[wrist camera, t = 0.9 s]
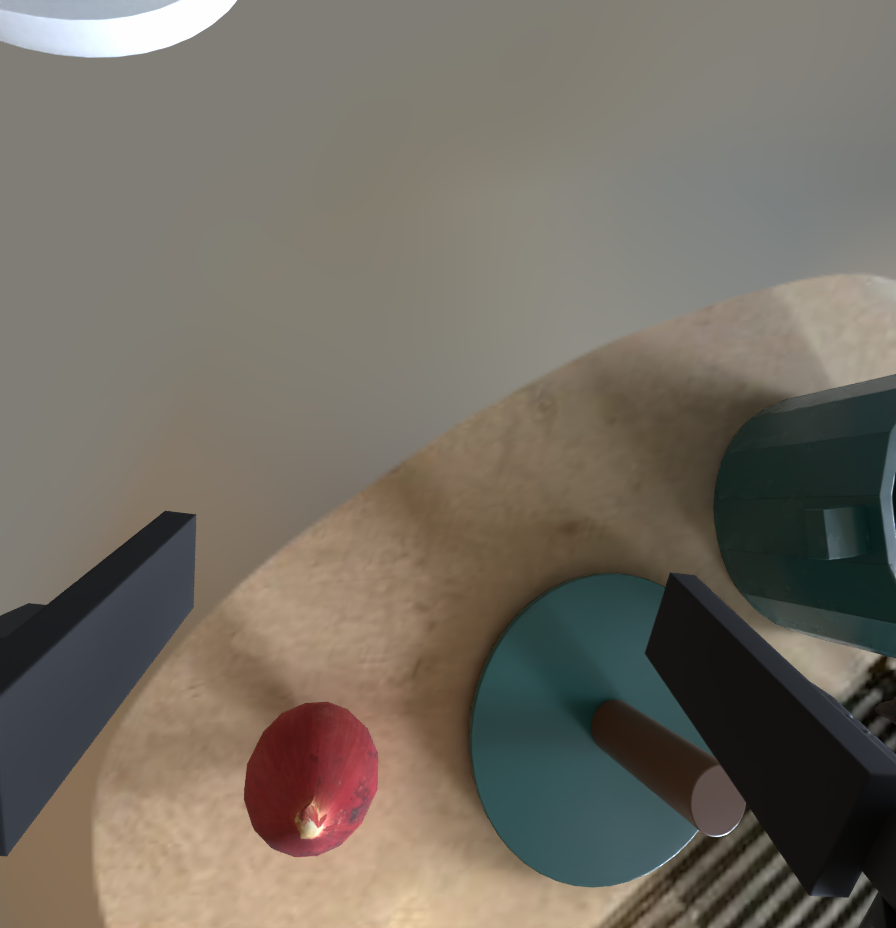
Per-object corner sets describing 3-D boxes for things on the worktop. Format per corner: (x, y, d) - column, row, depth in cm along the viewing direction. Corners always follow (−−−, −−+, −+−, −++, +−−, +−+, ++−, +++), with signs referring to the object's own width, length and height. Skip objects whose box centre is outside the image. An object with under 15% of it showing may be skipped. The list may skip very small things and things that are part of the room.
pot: (668, 403, 34) (818, 359, 24) (904, 398, 40) (1105, 360, 30) (693, 655, 33) (863, 720, 23) (933, 611, 39) (1152, 648, 29)
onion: (387, 704, 28) (417, 780, 20) (338, 812, 26) (349, 936, 19) (288, 664, 26) (278, 727, 19) (232, 774, 25) (198, 891, 18)
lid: (454, 588, 29) (515, 623, 20) (706, 558, 34) (845, 575, 25) (477, 911, 28) (553, 1096, 19) (735, 833, 33) (892, 952, 24)
